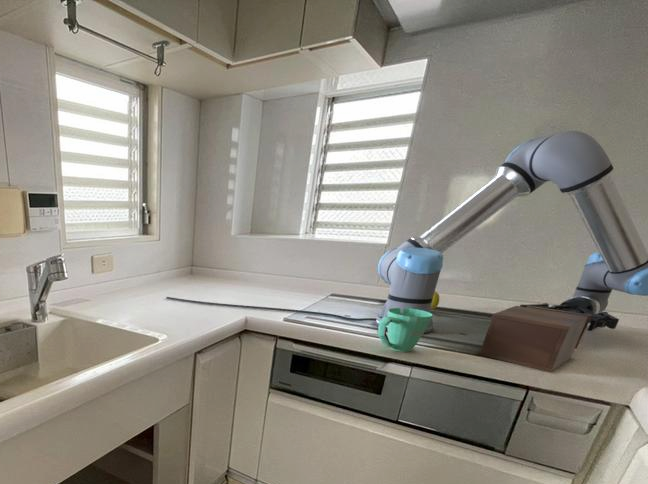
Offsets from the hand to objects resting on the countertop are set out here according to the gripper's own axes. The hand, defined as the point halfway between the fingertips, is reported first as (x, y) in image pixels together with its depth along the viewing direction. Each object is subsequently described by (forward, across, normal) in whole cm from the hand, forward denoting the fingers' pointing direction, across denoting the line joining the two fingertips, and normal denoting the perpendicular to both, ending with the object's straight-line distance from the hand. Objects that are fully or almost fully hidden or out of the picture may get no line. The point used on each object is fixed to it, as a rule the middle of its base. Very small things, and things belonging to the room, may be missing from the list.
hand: (556, 319), depth 108 cm
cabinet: (+18, 0, -7) cm, 19 cm away
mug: (+40, +21, -7) cm, 46 cm away
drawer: (+6, 0, -6) cm, 9 cm away
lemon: (-13, +36, -7) cm, 39 cm away
